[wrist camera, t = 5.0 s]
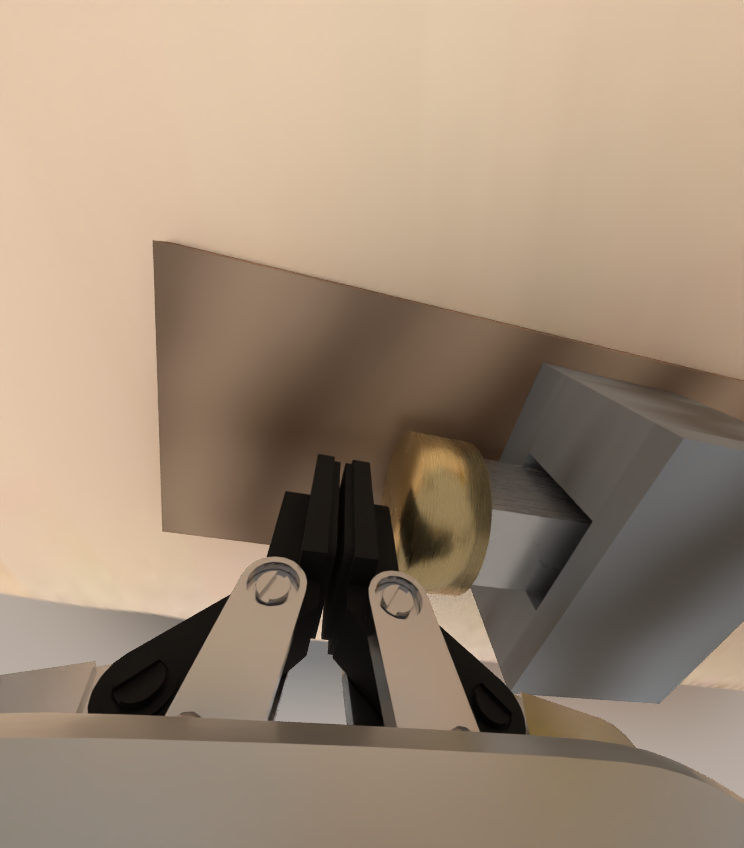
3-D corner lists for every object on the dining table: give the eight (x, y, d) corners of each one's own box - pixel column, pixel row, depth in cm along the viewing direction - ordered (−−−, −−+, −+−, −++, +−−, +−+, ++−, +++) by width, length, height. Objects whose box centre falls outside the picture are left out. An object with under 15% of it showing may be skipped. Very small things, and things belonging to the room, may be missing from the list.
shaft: (687, 462, 14) (840, 554, 10) (624, 550, 16) (728, 659, 12) (405, 407, 13) (436, 490, 8) (374, 513, 15) (385, 626, 10)
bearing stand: (781, 389, 15) (1092, 484, 9) (637, 577, 20) (771, 726, 14) (168, 241, 12) (-61, 219, 5) (172, 516, 17) (58, 682, 10)
